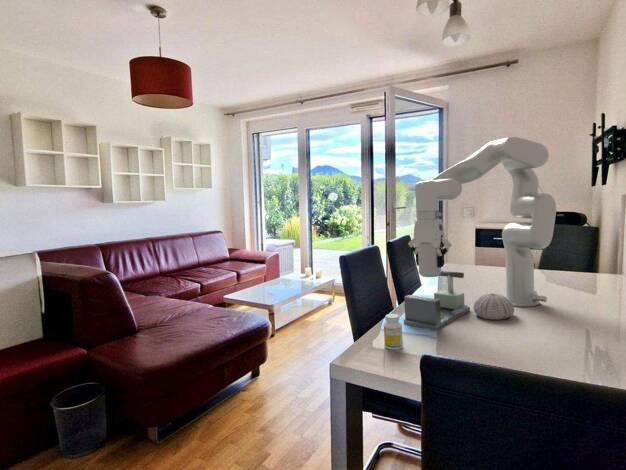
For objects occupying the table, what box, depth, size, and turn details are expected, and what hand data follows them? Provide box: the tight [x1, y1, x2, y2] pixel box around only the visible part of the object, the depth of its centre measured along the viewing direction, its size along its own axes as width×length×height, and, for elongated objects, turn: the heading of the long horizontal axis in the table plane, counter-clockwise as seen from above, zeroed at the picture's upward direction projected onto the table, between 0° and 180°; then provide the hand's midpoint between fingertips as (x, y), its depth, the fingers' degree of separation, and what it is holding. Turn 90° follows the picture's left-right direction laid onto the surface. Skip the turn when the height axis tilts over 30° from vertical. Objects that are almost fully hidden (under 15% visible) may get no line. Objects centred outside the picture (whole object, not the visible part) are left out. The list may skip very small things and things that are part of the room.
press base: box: [403, 294, 471, 331], centre depth 134 cm, size 12×26×10 cm, turn 133°
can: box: [418, 243, 442, 278], centre depth 130 cm, size 8×8×12 cm
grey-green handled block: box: [433, 270, 465, 309], centre depth 140 cm, size 10×6×13 cm, turn 43°
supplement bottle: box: [383, 313, 404, 351], centre depth 110 cm, size 5×5×10 cm
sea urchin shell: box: [472, 293, 516, 321], centre depth 131 cm, size 13×14×8 cm
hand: (430, 265), depth 130 cm, fingers closed on can, 7 cm apart
